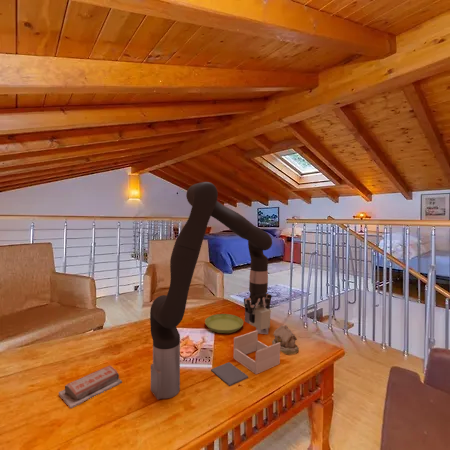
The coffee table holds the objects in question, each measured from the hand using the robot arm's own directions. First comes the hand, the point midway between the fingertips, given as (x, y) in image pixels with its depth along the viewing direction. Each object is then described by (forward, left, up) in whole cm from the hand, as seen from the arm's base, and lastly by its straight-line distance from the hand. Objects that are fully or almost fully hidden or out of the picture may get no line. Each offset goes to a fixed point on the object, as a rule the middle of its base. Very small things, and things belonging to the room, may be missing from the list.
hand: (257, 320), depth 120 cm
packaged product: (-60, +20, -18) cm, 66 cm away
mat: (-15, -1, -17) cm, 23 cm away
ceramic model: (+20, +1, -18) cm, 27 cm away
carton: (0, 0, -17) cm, 17 cm away
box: (0, 0, -1) cm, 1 cm away
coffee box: (+23, +20, -18) cm, 35 cm away
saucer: (+9, +35, -18) cm, 40 cm away
